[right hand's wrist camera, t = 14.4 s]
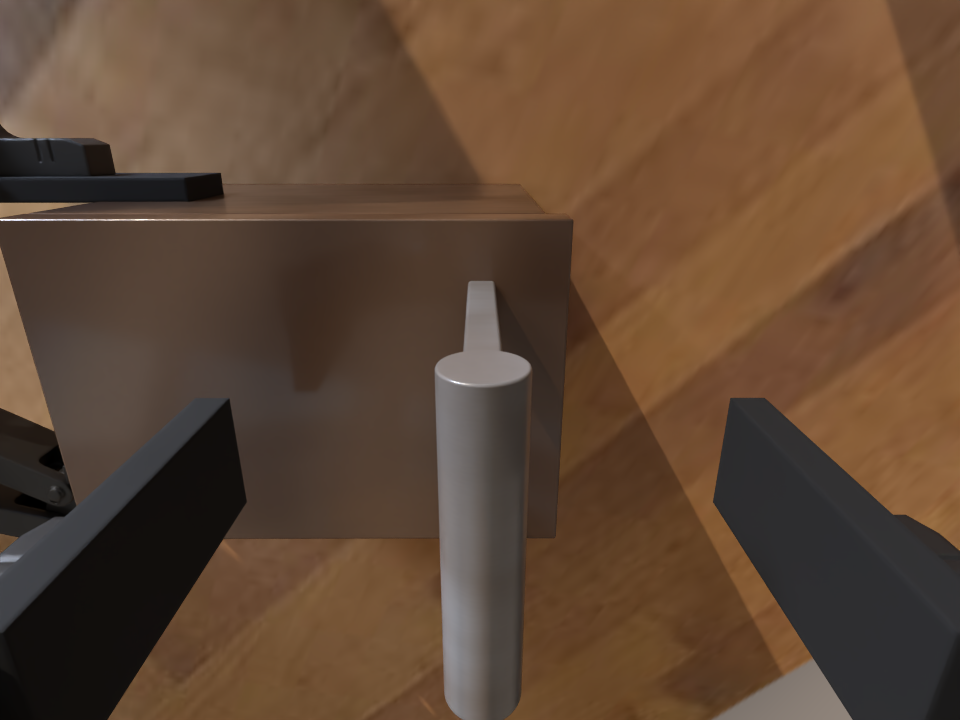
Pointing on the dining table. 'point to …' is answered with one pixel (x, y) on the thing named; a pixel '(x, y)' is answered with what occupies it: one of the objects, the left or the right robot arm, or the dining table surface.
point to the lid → (328, 381)
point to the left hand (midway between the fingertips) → (229, 333)
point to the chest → (335, 200)
